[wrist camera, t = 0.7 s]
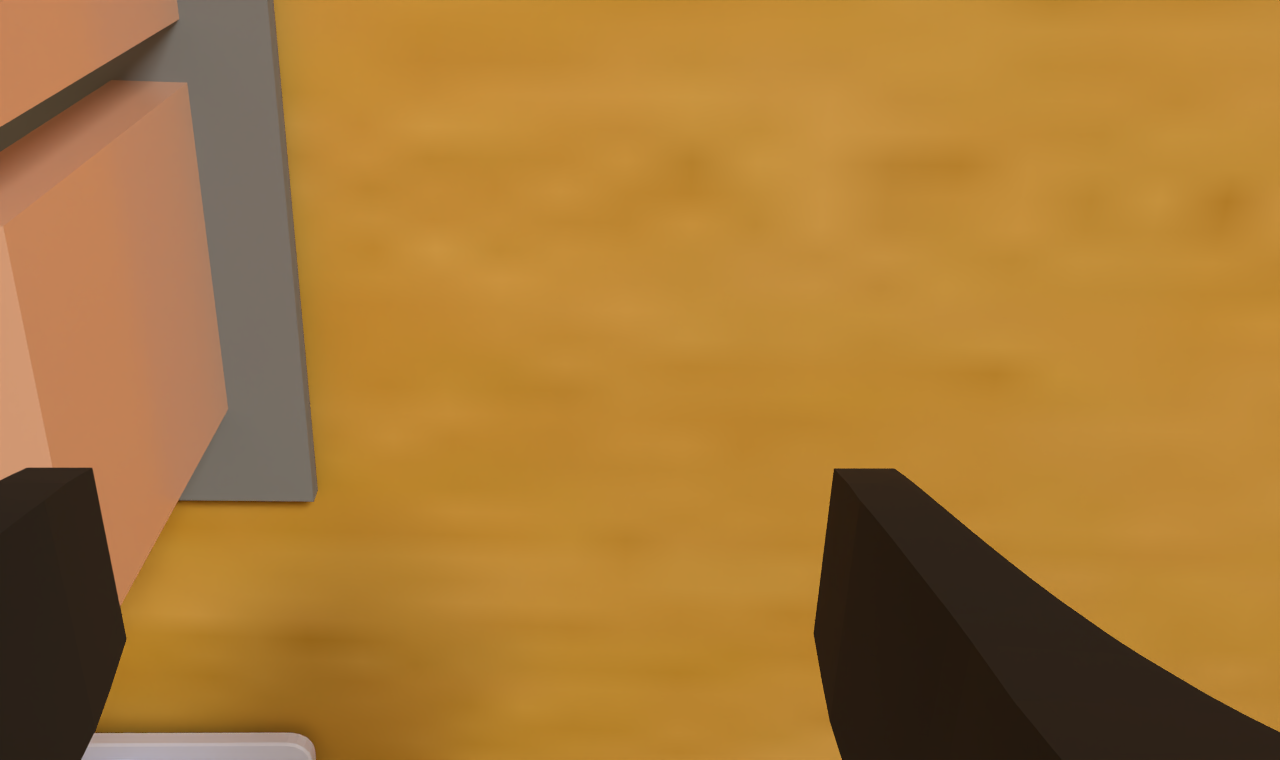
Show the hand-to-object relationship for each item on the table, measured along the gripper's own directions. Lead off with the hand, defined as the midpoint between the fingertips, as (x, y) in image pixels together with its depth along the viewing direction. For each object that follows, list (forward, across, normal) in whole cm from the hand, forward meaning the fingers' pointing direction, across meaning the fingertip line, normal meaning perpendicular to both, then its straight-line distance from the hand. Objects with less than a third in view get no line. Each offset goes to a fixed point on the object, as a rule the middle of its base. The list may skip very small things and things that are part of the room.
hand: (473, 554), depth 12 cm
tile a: (+10, +6, +1) cm, 12 cm away
